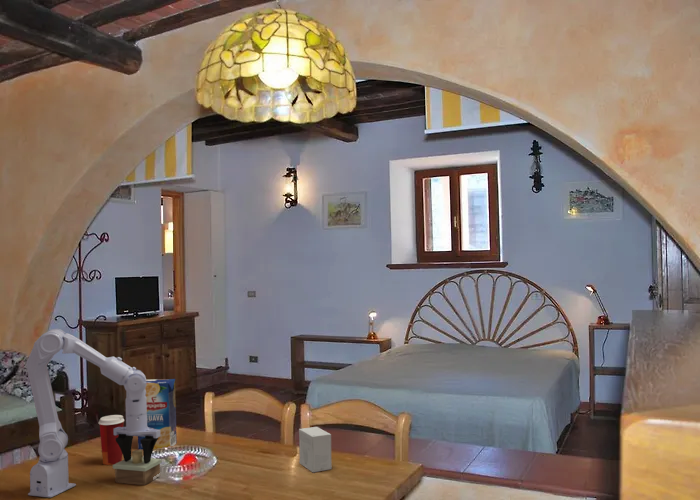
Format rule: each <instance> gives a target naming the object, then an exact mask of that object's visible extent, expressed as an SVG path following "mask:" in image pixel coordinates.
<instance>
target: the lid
mask: <svg viewBox="0 0 700 500" xmlns="http://www.w3.org/2000/svg"><path fill="white" fill-rule="evenodd" d="M162 463H163V460H162V458H152V457H151V461H150V462H148V463H144V459H143V450H138V449H136V450H132V451H131V460H129V461H127V462H125V461H124V459H122V461H120V462H118V463H116V464H114V465H112V469H113V470H115V469H123V470H135V471H147V470H149V469H151V468H153V467H154V466H156V465H158V464H160V465H161V464H162Z"/></svg>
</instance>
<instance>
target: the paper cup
mask: <svg viewBox="0 0 700 500" xmlns="http://www.w3.org/2000/svg"><path fill="white" fill-rule="evenodd" d="M125 422H126V419H124V416H123V415H121V414H110V415H105V416H102V417H100V419H99V421H98V422H97V423H98V424H99V432H100V433H99V434H100V435H99V436H100V447H101V457H102V464H103V465H104V466H113V465H114V464H116V463H118V462H120V461H122V460H123V454H122V451H121V449H120V447H119V445H118V443H117V442H116V438H117V437H118V435H114V428H117V427H124V423H125Z"/></svg>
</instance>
